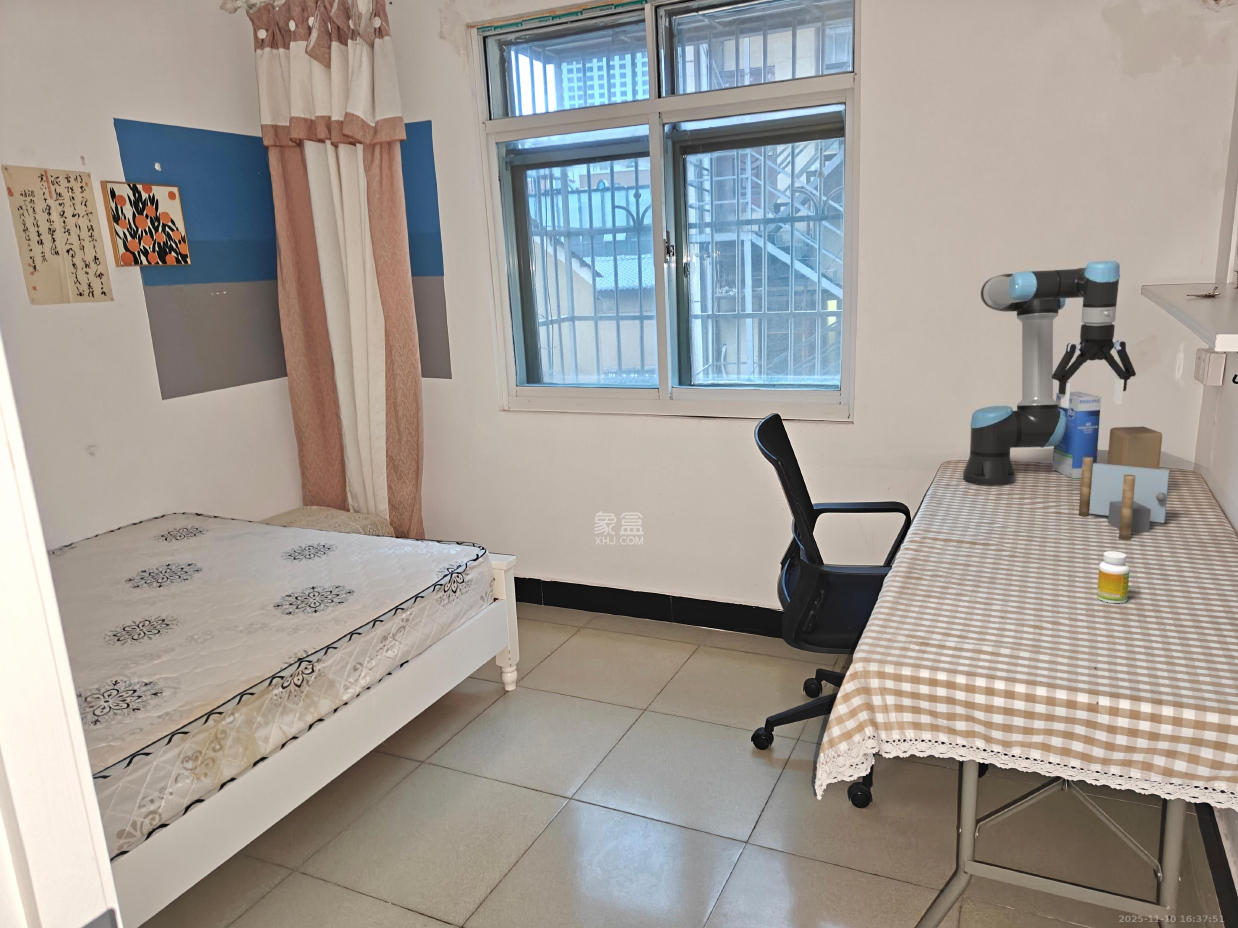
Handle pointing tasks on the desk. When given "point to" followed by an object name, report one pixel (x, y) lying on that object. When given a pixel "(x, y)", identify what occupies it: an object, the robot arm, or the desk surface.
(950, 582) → the desk surface
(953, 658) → the desk surface
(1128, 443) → the wooden block
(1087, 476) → the door frame
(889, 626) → the desk surface
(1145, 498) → the door
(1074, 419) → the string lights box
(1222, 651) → the desk surface
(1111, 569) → the supplement bottle
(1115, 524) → the block
